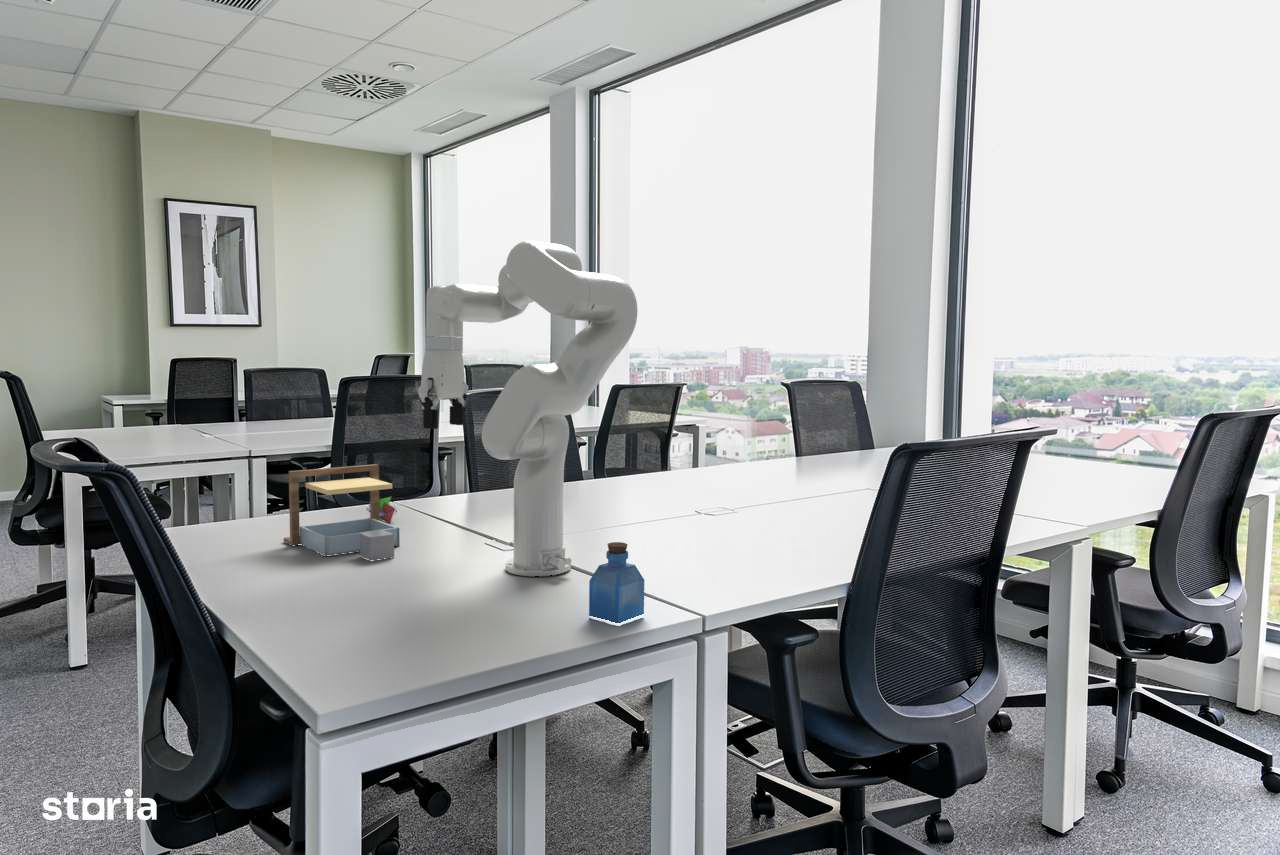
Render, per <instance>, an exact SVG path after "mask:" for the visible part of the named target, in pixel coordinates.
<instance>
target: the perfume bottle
mask: <svg viewBox="0 0 1280 855" xmlns="http://www.w3.org/2000/svg"><path fill="white" fill-rule="evenodd" d="M607 548H608V550H606V554H605V556H606V560H607V563H603V564H599V565H598V567H597V568H596V570H595V572H594V573H593V575H592V576H591V577H590V579H589V582H588V583H589V585H588V586H589V587H588V594H589V595H588V599H589V600H588V617H589V616H593V617H597V618H601V619H605V620H609V621H611V622H615V623H621V622H623V621H626V620H628V619H631V618H634V617H636V616H639V615H642V614H644V615H645V579H644V577H643V575H642V574H641V573H640V571H639V569H638V568H637V566H636V565H635V564H633V563H628V562H627V560H628V559H629V551H628V550H627V549H628V543H625V542H621V541H618V542H617V541H615V542H609V543H607Z"/></svg>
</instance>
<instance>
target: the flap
mask: <svg viewBox="0 0 1280 855" xmlns="http://www.w3.org/2000/svg"><path fill="white" fill-rule="evenodd" d="M369 477H370V476H367V477H365V476H364V477H355V478H354V477H353V478H345V479H334V480H321V481H312V482H304V483H305V488H306V489H309V490H311V491H315V492H318V493H321V494H324V495H327V496H331V495H340V494H341V495H342V494H349V493H352V494H353V493H361V492H363V493H364V492H370V491H373V490H379V491H380V490H389V489H390V490H391V489H392V490H393V483H390V482H387V481H384V480H380V479H379V480H377V479H373V478H369Z"/></svg>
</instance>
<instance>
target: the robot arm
mask: <svg viewBox="0 0 1280 855" xmlns="http://www.w3.org/2000/svg"><path fill="white" fill-rule="evenodd" d="M582 270H583V265H582V261H581V259H580V256H579V255H578V253H576V251H574V250H573V249H572V248H570V247H569V246H566V245H563V244H559V243H554V242H552V243H551V242H546V241H538V240H534V239H533V240H524V241H521V242H519V243H517V244H516V245H514V246H513V248H511V249H510V251H509V253H508V255H507V257H506V262H505V265H503V266H502V268H501V269H500V270H499V272H498V273H499V274H498V276H497V277H498V278H497V279H498V280H497V281H498V283H497V284H498V285H495V286H489V285H478V284H464V283H453V284H449V285H433V286H429V287H428V289H427V292H426V304H425V305H426V306H425V307H426V309H425V310H426V311H425V312H426V315H425V316H426V317H425V318H426V321H425V322H426V324H425V325H426V329H425V330H426V332H425V333H426V334H425V342H426V343H425V346H426V347H425V349H426V351H424V355H423V359H422V367H421V378H420V380H421V381H420V385H419V387H418V388H417V394H418V397H419V402H420V403H421V409H422V410H423V413H422V414H423V417H422V418H423V420H422V423H423V429H429V430H430V429H431V430H436V429H438V428H439V409H437V407H438V404H439V402H440V401H445V400H449V402H450V404H451V405H449V424H450V425H452V426H453V425H454V426H463V425H464V422H465V421H464V419H465V418H464V416H465V415H464V411H465V409H464V408H465V407H466V400H467V398H468V392H469V389H470V388H469V385H468V384H467V383H466V382H465V366H464V358H463V353H464V351H463V350H464V347H463V346H464V345H463V344H464V323H466V322H467V323H486V324H487V323H488V324H493V323H494V324H495V323H500V322H503V321H505V320H509V319H513V318H514V317H517V316H520V315H521V314H522V313H524V311H525V310H526V309H527V307H529V304H531V303H536V304H537V305H538V306H540V307H541V308H543V309H544V310H545V311H547V312H548V313H550V314H551V315H553V316H554V317H556V318H559V319H562V320H567V321H584V322H585V321H586V322H587V321H588V322H589V323H588V324H587V325H586V326H585V327H584V328H583V329H581V331H579V332H578V333H576V334H575V335H574V336H573V338H571V339H570V341H569V342H568V343H567V345H566V347H565V349H564V350H563V352H562V353H561V354H560V356H558V359H556V360H555V361H553V362H551V363H545V364H544V363H542V364H541V363H540V364H537V363H536V364H535V363H534V364H529V365H525V366H522V367H521V368H519V369H517V370H516V371H515V372H514V373H513V374H512V375H511V376H510V377H509V378H508V381H507V382H506V384H505V385H504V387H503V388H502V390H501V391H500V393H499V395H498V397H497V399H495V402H494V404H493V405H492V406H491V408H490V410H489V411H488V414H487V415H486V416H485V419H484V422H483V425H482V430H481V442H482V446H483V447H484V449H485V451H486V453H487V454H488V455H490V456H491V457H493V458H495V459H496V460H503V461H505V460H506V461H507V460H508V461H510V460H517V459H519V461H518V464H517V466H516V470H515V472H514V478H513V558H512V559H509V560H508V561H507V562H506V563H505V568H504V569H505V571H507V572H508V573H509V574H513V575H516V576H522V577H535V576H539V577H551V576H550V575H552V576H558V575H562V574H565V573H567V572H568V571H570V569H571V568H572V566H571V565H572V559H571V558H570V557H568V556H566V548H564V486H565V485H564V479H565V472H564V471H565V463H566V455H567V449H568V446H569V445H568V444H569V439H570V427H569V422H568V420H567V418H566V416H569V415H573V414H576V413H578V412H579V411H580V410H581V409H582V408H583V406H584V405H585V404H586V403H587V401H588V400H589V398H590V397H591V395H592V393H593V392H594V391H595V389H596V387H598V385H599V384H600V381H601V380H602V379H603V378H604V375H605V374H606V372H607V370H609V368H610V366H611V365H612V364H613V362H614V361H615V360H616V358H617V357H618V356H619V355H620V353H621V352H622V351H623V349H624V348H625V346H626V345H627V343H628V342H629V341H630V339H631V337H632V335H633V333H634V331H635V328H636V324H637V320H638V301H637V297H636V295H635V293H634V290H633V289H632V287H631V285H629V283H627V281H625V280H623V279H621V278H619V277H617V276H614V275H610V274H606V273H600V272H591V271H582ZM564 572H565V573H564ZM561 573H562V574H561ZM557 574H558V575H557Z"/></svg>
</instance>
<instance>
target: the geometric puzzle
mask: <svg viewBox="0 0 1280 855" xmlns="http://www.w3.org/2000/svg"><path fill="white" fill-rule="evenodd" d="M391 500H392V502H394V501H393V500H394V499H393V497H392V495H391V496H386V497H382V498H379V518H380V521H382V522H385V523H387V522H388V523H387V524H389V523H390V524H391V522H392V521H393V520H394V519H393V516H395V515H397V513H398V510H397V508H396V506H392V505H390V502H391ZM365 509H366V511H368V513H367V514H368V515H369V516H370V502H369V503H368V506H367V507H366V508H365ZM383 520H384V521H383Z"/></svg>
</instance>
